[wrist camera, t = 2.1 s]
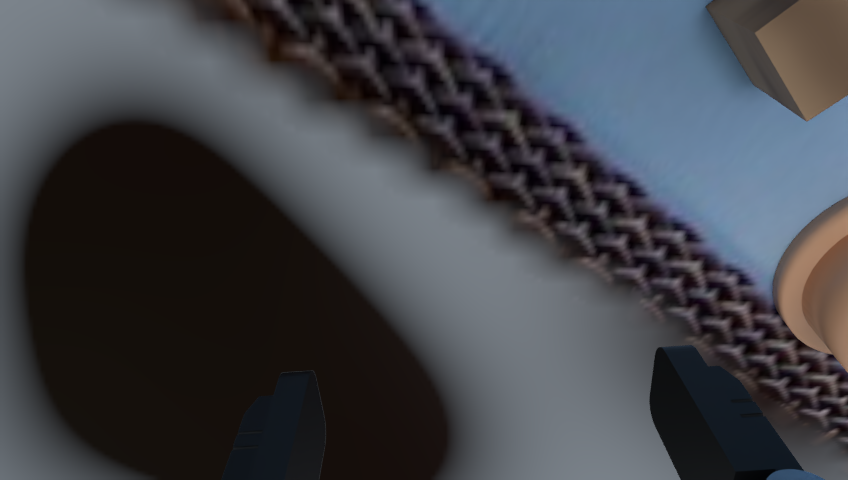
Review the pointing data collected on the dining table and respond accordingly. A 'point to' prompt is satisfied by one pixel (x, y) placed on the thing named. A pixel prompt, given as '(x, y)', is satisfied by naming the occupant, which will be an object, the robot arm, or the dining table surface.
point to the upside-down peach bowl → (817, 283)
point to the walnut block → (790, 48)
